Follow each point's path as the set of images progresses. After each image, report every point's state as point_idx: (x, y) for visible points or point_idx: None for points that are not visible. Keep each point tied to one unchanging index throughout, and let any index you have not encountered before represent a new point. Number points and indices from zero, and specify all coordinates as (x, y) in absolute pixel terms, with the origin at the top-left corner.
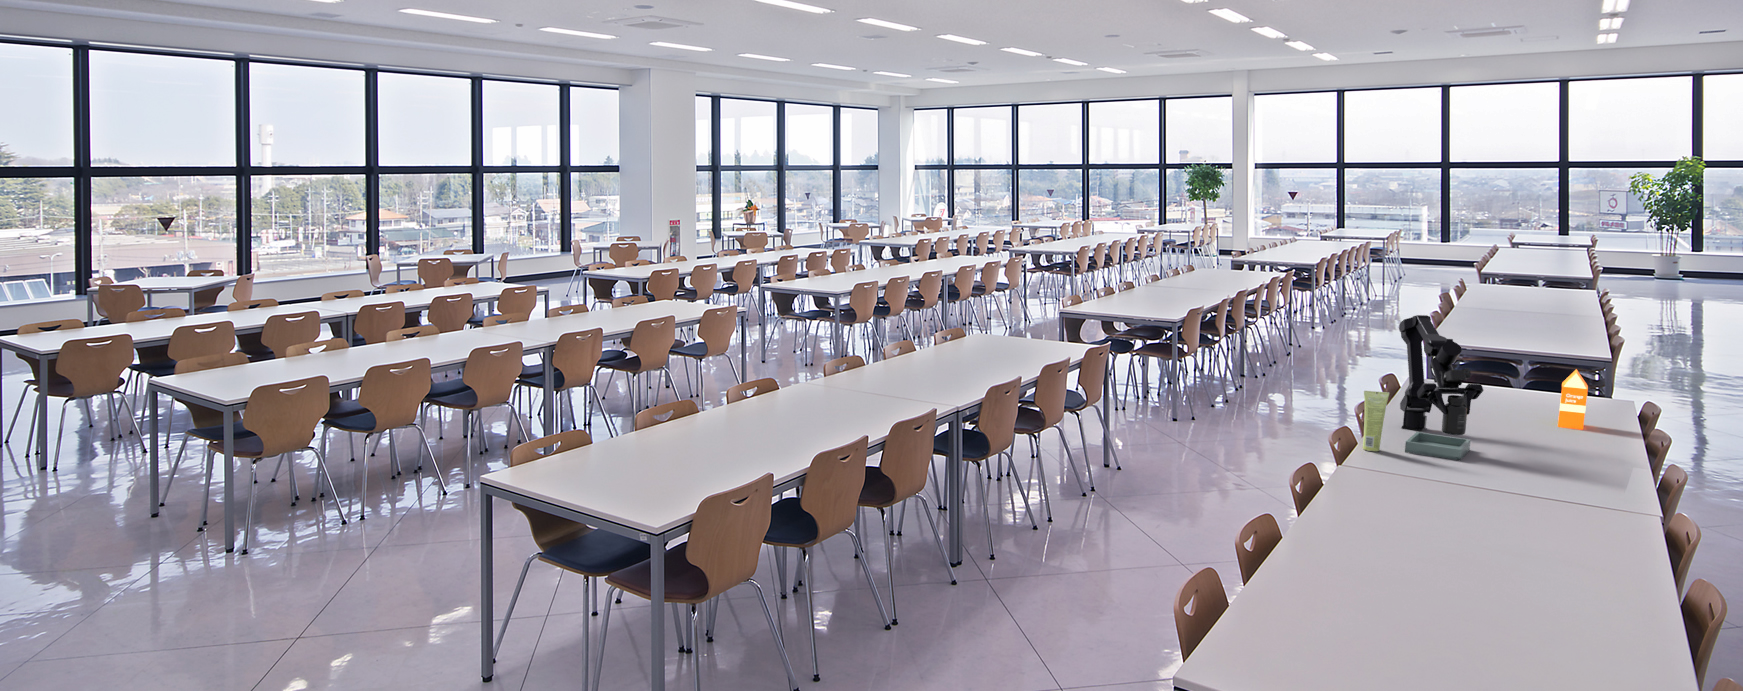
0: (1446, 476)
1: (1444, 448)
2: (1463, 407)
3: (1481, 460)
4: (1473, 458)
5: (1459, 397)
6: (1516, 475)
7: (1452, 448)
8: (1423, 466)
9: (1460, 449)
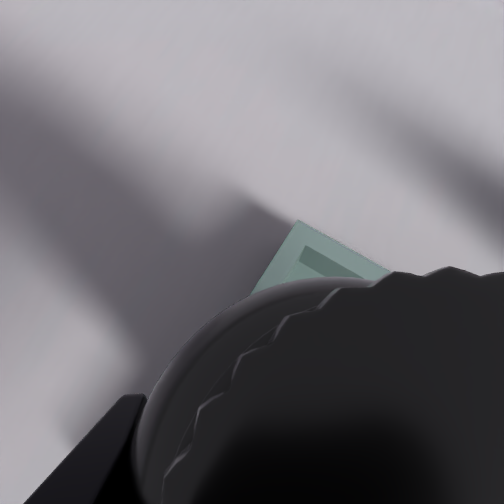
0: (427, 23)
1: (378, 267)
2: (263, 308)
3: (171, 263)
4: (195, 299)
5: (425, 411)
6: (141, 52)
7: (339, 244)
8: (491, 135)
9: (298, 227)
